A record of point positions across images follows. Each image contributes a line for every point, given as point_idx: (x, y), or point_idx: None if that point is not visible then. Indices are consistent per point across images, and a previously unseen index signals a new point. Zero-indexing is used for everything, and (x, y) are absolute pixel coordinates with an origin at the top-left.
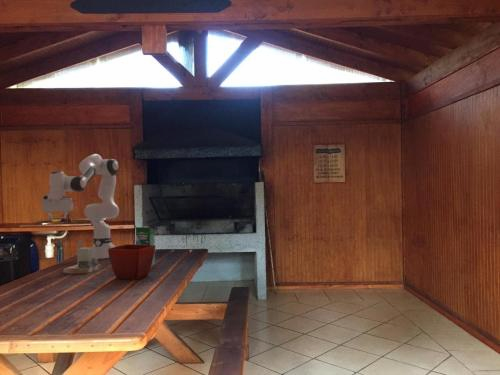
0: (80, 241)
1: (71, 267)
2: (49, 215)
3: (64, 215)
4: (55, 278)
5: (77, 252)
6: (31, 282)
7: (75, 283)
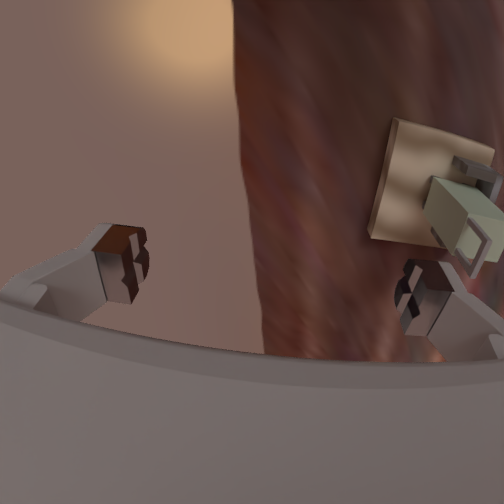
0: (482, 259)
1: (395, 212)
2: (99, 305)
3: (441, 339)
4: (369, 305)
5: (445, 243)
6: (316, 343)
7: (434, 347)
